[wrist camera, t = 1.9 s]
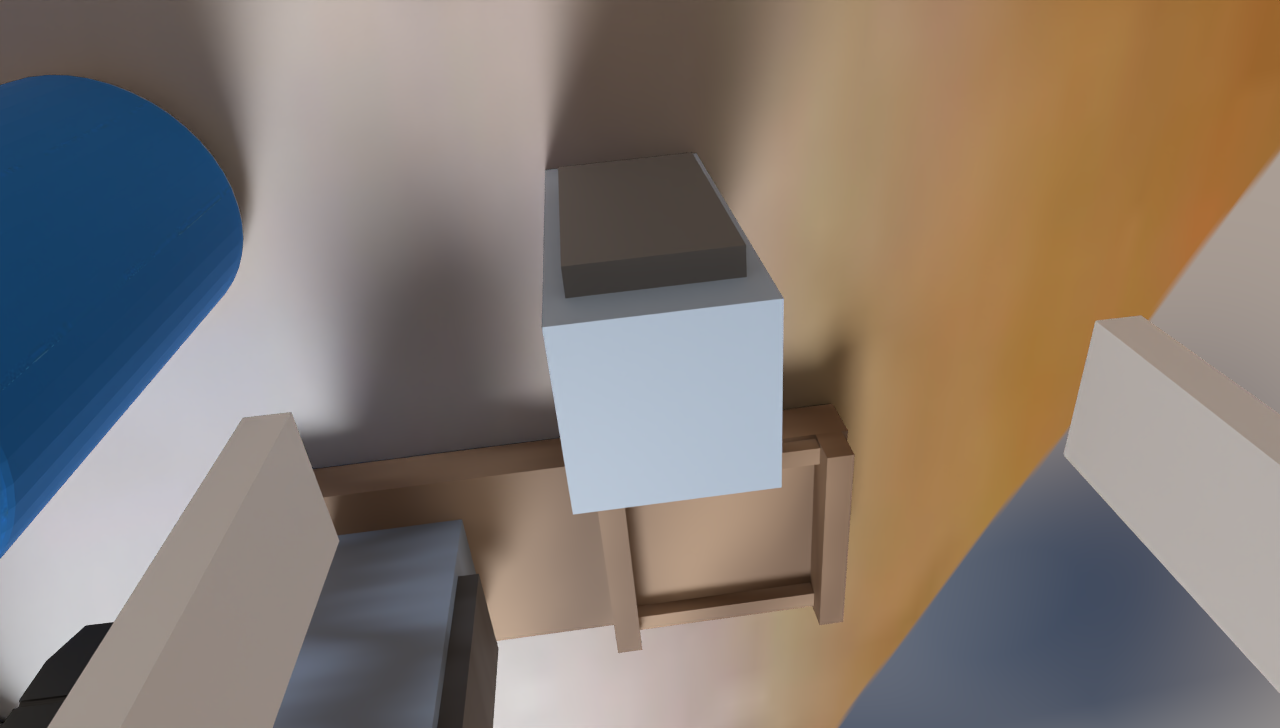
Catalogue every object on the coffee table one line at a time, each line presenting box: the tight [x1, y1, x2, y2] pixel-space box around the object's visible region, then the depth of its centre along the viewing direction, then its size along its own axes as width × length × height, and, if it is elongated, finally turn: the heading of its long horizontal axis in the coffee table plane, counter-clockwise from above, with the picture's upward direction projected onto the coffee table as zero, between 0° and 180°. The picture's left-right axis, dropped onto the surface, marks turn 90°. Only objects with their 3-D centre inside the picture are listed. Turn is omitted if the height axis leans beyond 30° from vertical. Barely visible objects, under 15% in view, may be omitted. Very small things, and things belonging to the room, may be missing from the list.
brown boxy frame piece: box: [273, 404, 854, 728], centre depth 22 cm, size 18×7×10 cm, turn 95°
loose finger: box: [542, 152, 784, 514], centre depth 18 cm, size 5×4×9 cm
